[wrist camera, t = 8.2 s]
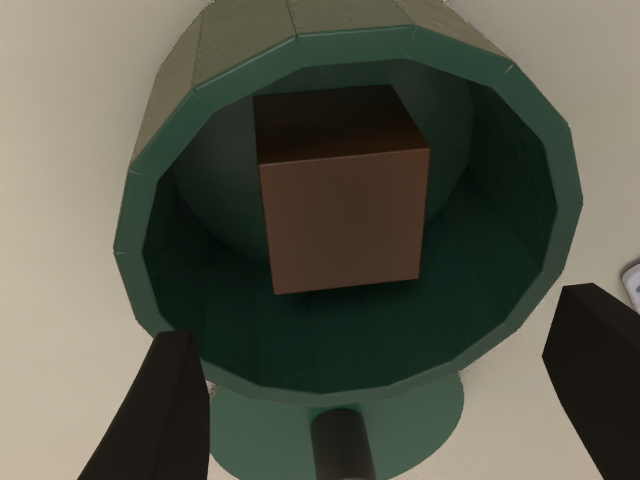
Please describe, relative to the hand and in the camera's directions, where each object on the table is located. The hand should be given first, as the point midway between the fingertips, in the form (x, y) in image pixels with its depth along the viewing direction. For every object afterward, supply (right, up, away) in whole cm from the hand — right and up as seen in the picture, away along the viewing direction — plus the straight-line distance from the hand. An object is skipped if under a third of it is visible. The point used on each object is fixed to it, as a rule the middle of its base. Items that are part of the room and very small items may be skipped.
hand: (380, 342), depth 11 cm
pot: (-1, +5, +6) cm, 8 cm away
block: (-1, +5, +6) cm, 8 cm away
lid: (-1, -6, +14) cm, 15 cm away
